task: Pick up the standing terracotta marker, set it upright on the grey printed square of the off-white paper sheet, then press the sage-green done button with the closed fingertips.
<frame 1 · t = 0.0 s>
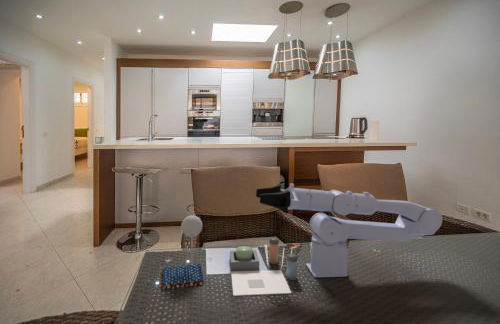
hand: (258, 195, 79), 22 cm above the table, tool horizontal, fingers open, 7 cm apart
paper: (259, 282, 76), on the table
lollipop: (191, 267, 84), on the table
woven mat: (182, 280, 78), on the table
marker slate: (291, 277, 79), on the table
done button: (244, 254, 87), point 3 cm above the table, slide at 0.0 cm
button housing: (243, 264, 87), on the table
marker terracotta: (273, 261, 89), on the table
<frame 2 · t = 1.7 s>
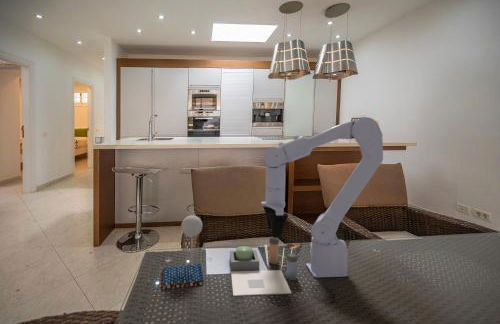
hand: (274, 232, 88), 9 cm above the table, tool pointing down, fingers open, 7 cm apart
nothing on the table moved.
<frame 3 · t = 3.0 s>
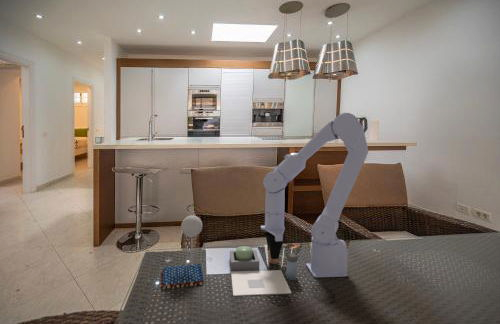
hand: (273, 256, 89), 2 cm above the table, tool pointing down, fingers closed on marker terracotta, 3 cm apart
marker terracotta: (273, 261, 89), on the table, touching gripper
everything else where it was.
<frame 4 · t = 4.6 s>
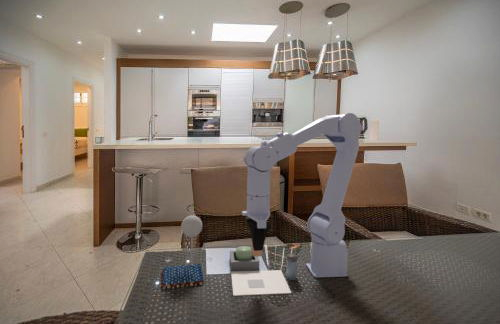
hand: (257, 247, 75), 9 cm above the table, tool pointing down, fingers closed on marker terracotta, 3 cm apart
marker terracotta: (256, 254, 75), point 8 cm above the table, touching gripper
everything else where it was.
when the fingers open (3 cm above the table, at t = 6.3 s): marker terracotta stays where it is, resting on paper.
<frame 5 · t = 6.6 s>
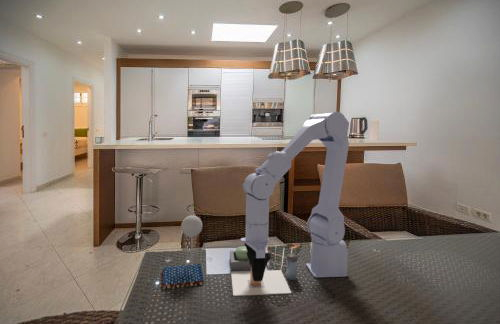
hand: (256, 274, 75), 3 cm above the table, tool pointing down, fingers open, 6 cm apart
marker terracotta: (255, 283, 75), resting on paper
everything else where it was.
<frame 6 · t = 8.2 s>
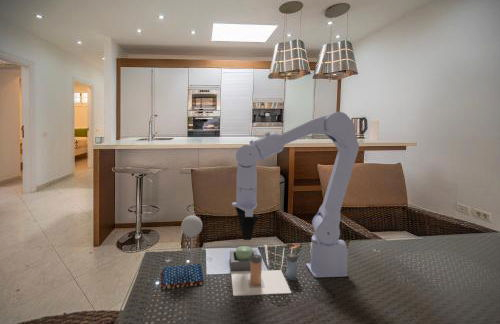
hand: (245, 234, 84), 9 cm above the table, tool pointing down, fingers open, 7 cm apart
nothing on the table moved.
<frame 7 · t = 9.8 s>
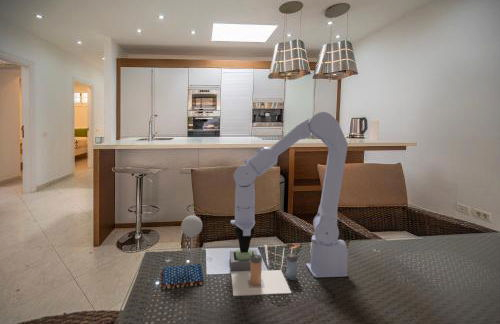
hand: (244, 251, 87), 4 cm above the table, tool pointing down, fingers closed, pressing on done button
done button: (244, 256, 87), point 2 cm above the table, slide at 0.7 cm, touching gripper
everything else where it was.
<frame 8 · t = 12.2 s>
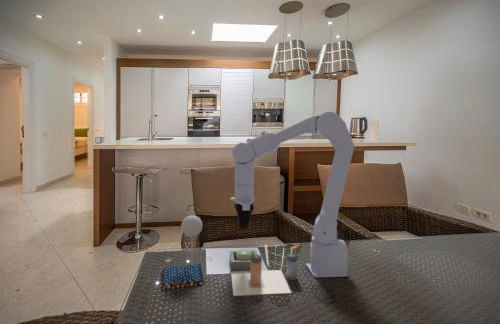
hand: (243, 228, 89), 10 cm above the table, tool pointing down, fingers closed
done button: (244, 257, 87), point 2 cm above the table, slide at 1.0 cm
everything else where it was.
at the end: marker terracotta 0.1 cm from the target spot, resting on paper; marker terracotta tilted 0°; done button slide at 1.0 cm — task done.
